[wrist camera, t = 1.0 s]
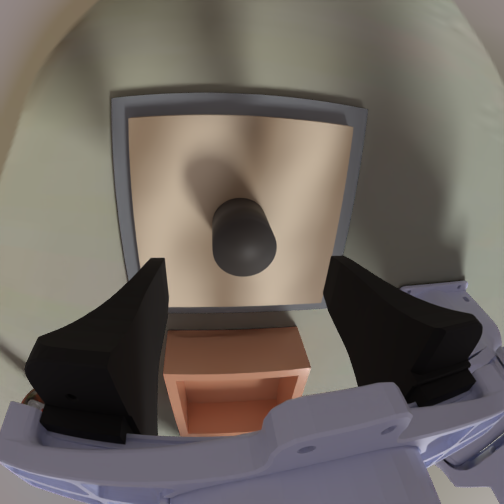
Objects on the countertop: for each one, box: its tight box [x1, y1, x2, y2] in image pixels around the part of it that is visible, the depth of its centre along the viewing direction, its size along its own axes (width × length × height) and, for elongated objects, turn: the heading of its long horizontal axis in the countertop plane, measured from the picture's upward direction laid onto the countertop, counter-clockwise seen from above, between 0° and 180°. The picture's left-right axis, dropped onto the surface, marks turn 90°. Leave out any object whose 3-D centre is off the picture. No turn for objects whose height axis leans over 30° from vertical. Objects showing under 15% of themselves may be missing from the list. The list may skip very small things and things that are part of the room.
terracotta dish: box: [163, 327, 311, 437], centre depth 24 cm, size 10×10×4 cm
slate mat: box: [112, 93, 368, 313], centre depth 19 cm, size 15×15×1 cm
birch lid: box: [128, 114, 354, 307], centre depth 17 cm, size 12×12×4 cm
